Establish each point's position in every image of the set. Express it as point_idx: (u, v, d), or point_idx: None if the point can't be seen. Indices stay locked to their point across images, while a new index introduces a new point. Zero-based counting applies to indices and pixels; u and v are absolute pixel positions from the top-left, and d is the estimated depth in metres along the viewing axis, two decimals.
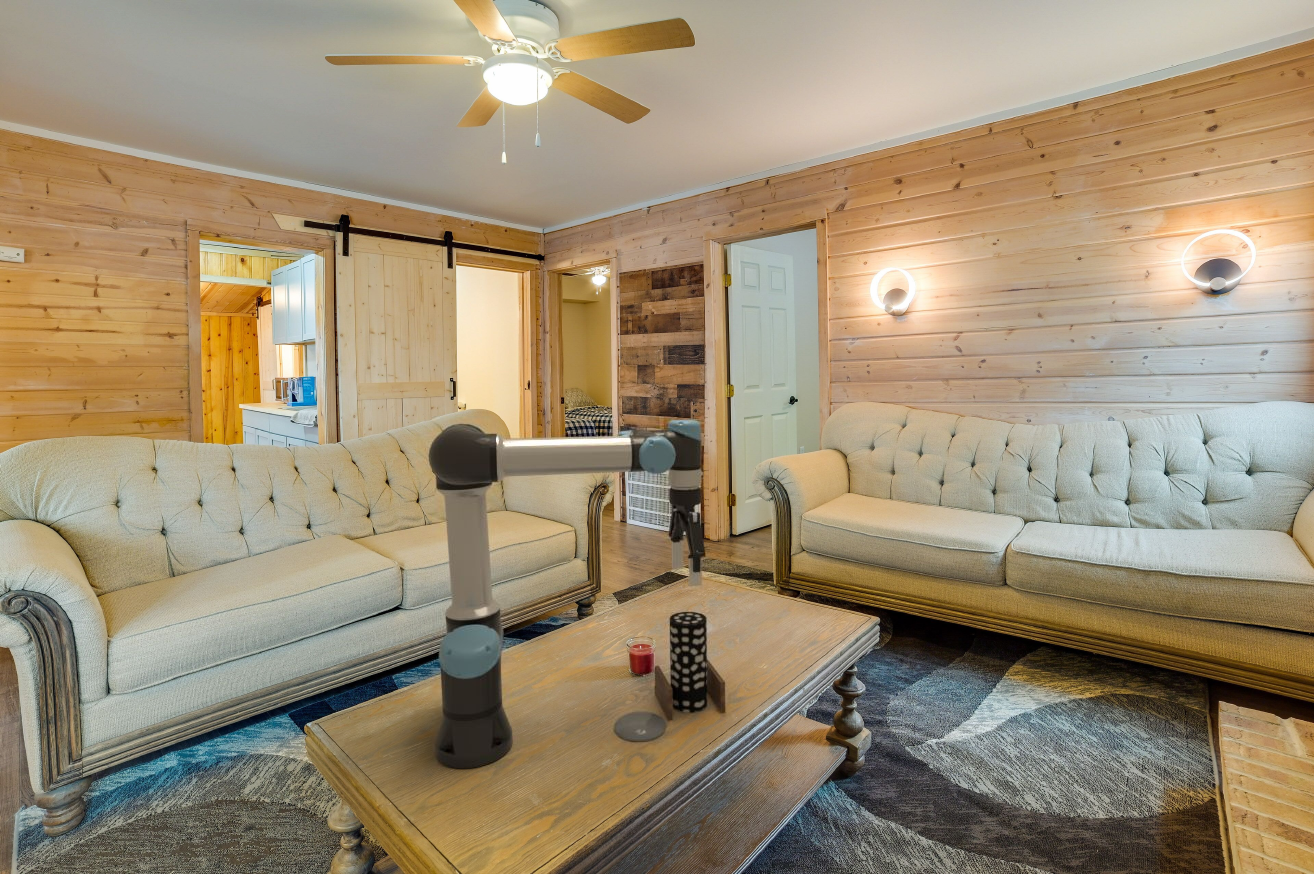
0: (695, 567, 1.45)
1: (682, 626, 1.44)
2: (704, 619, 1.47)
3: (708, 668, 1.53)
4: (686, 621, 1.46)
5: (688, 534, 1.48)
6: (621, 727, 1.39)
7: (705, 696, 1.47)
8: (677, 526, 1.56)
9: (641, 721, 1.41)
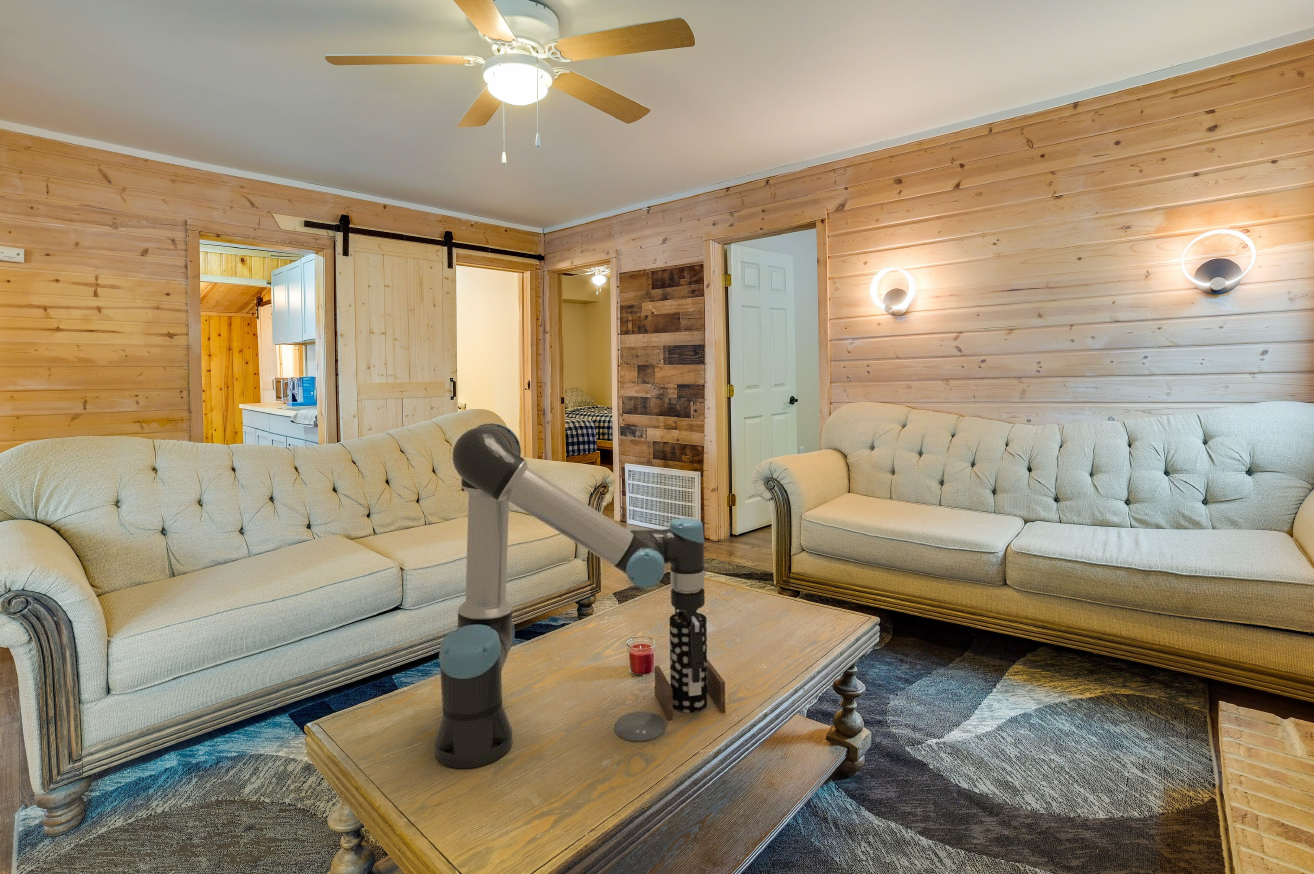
0: (694, 677, 1.43)
1: (682, 626, 1.44)
2: (704, 619, 1.47)
3: (708, 668, 1.53)
4: None
5: None
6: (621, 727, 1.39)
7: (705, 696, 1.47)
8: None
9: (641, 721, 1.41)
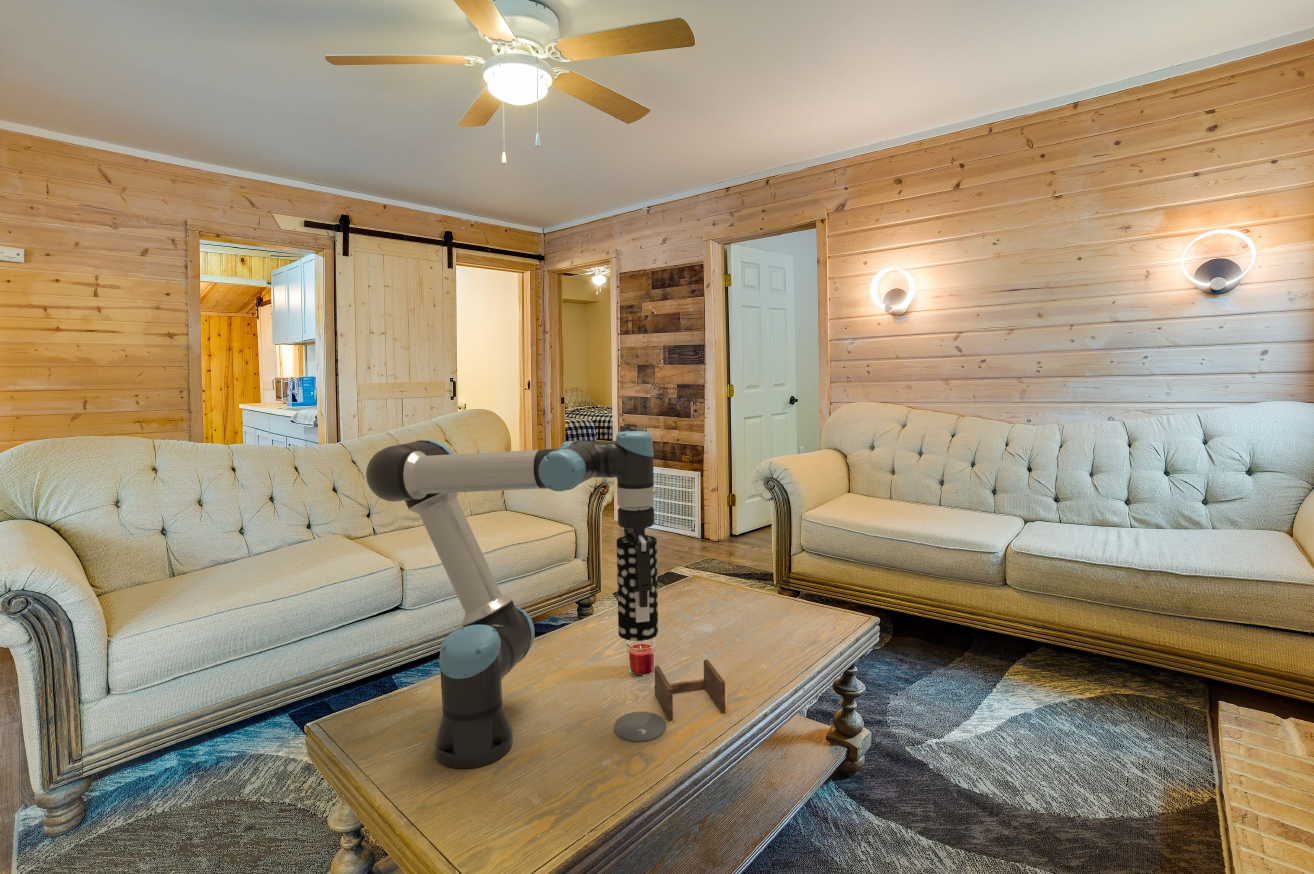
0: (641, 602, 1.31)
1: (628, 546, 1.32)
2: (654, 540, 1.35)
3: (708, 668, 1.53)
4: None
5: None
6: (621, 727, 1.39)
7: (655, 624, 1.36)
8: None
9: (641, 721, 1.41)
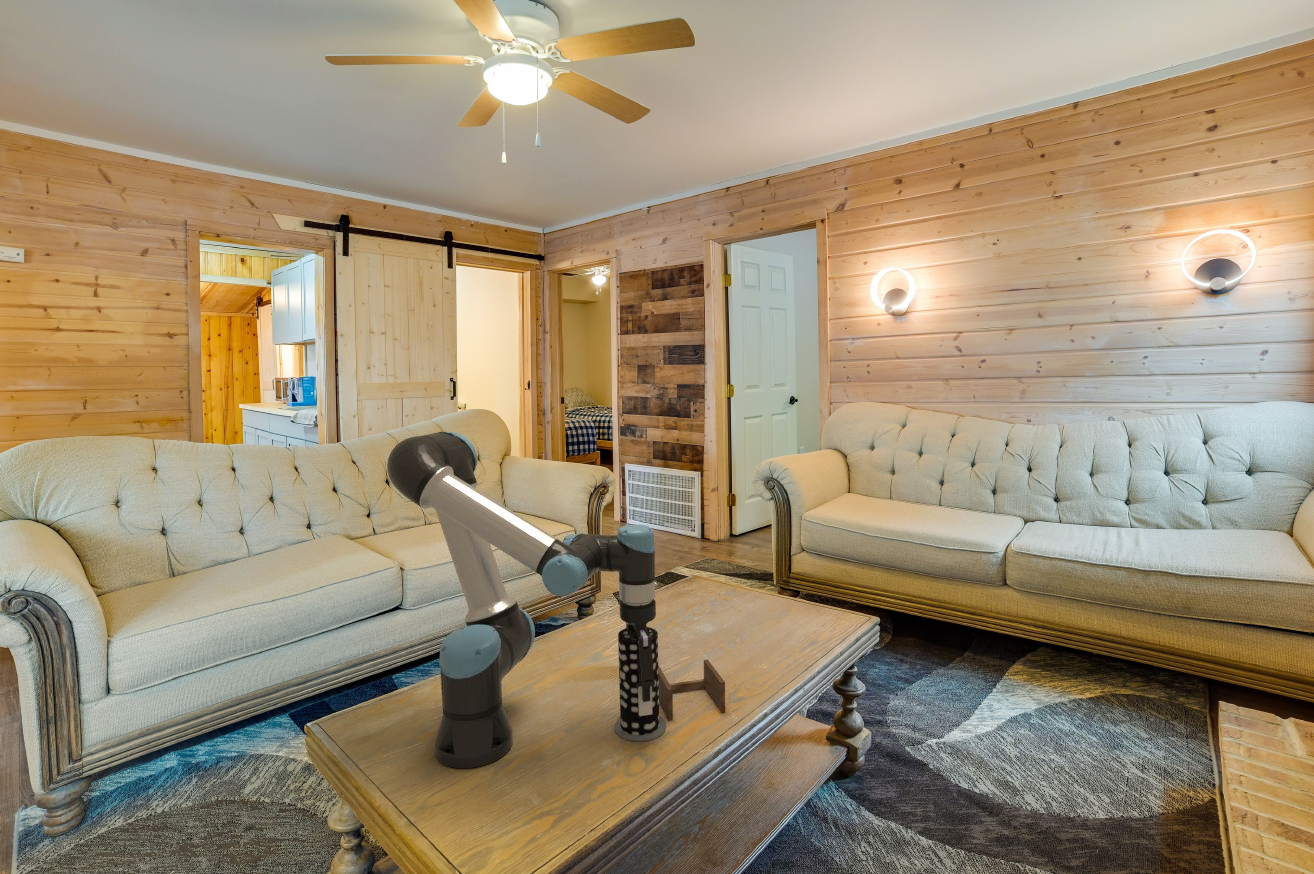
0: (644, 696, 1.32)
1: (630, 643, 1.34)
2: (655, 634, 1.37)
3: (708, 668, 1.53)
4: None
5: (638, 657, 1.34)
6: None
7: (656, 717, 1.37)
8: None
9: None
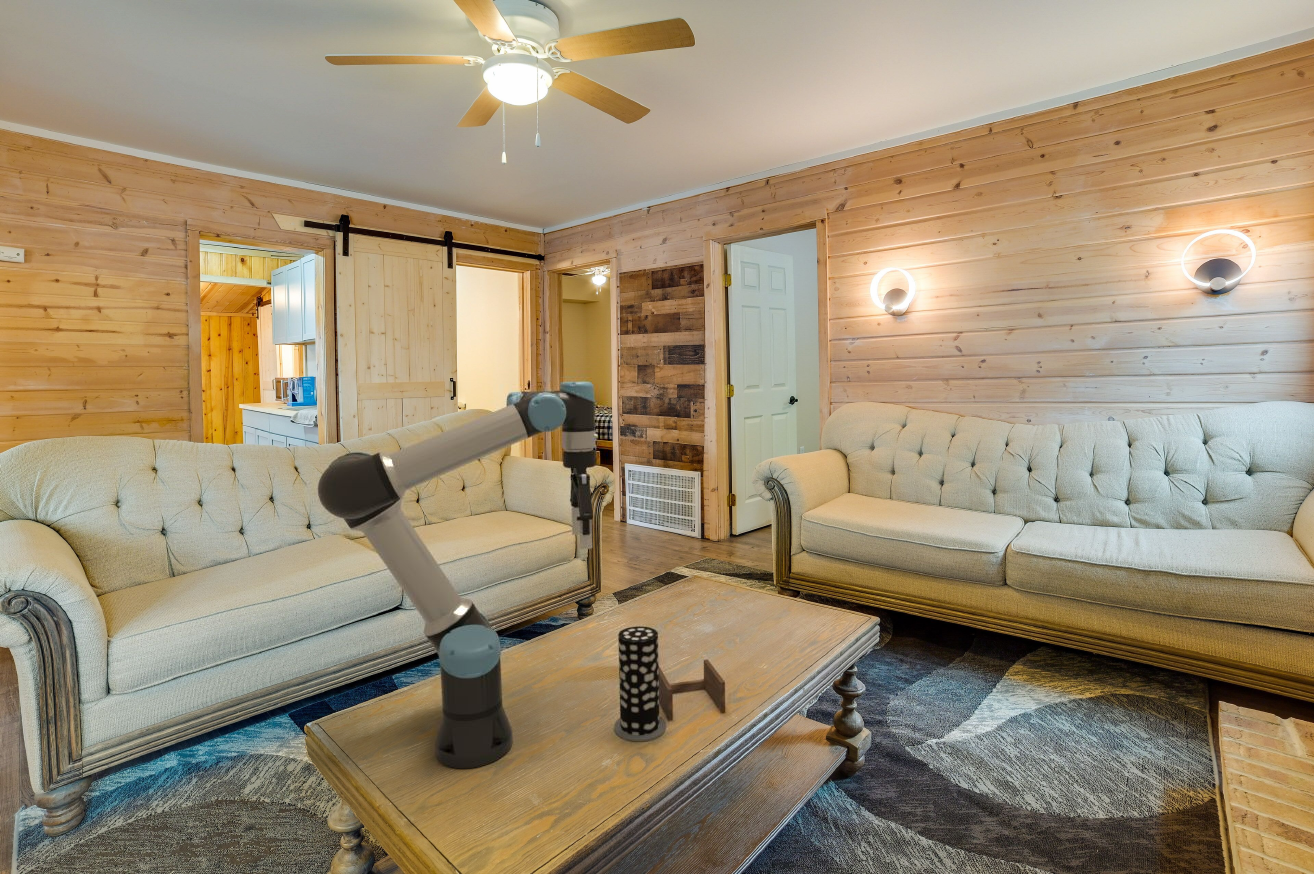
0: (584, 529, 1.43)
1: (630, 643, 1.34)
2: (655, 635, 1.37)
3: (708, 668, 1.53)
4: (635, 637, 1.36)
5: (579, 496, 1.45)
6: None
7: (656, 717, 1.37)
8: (574, 491, 1.54)
9: None
